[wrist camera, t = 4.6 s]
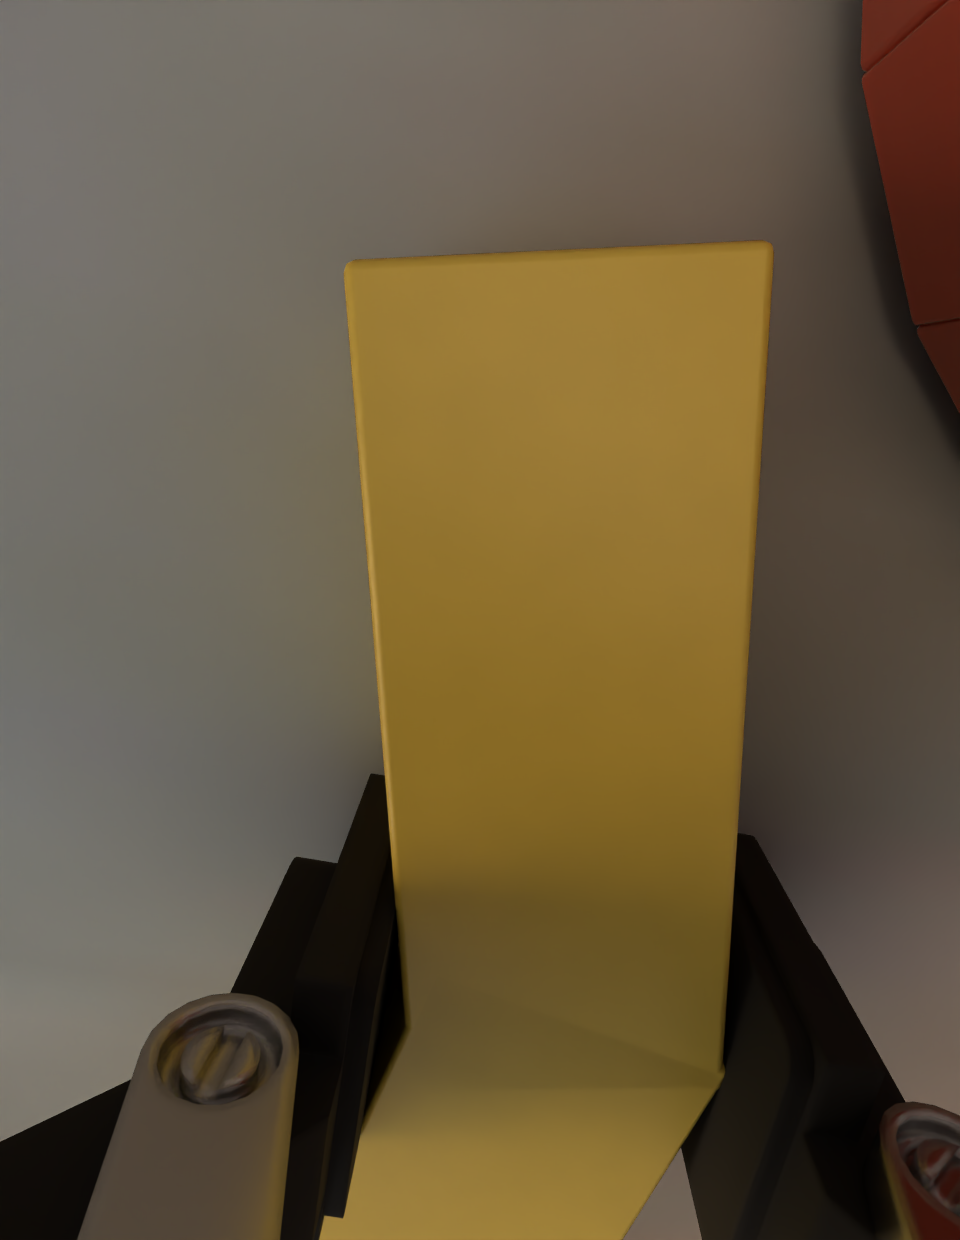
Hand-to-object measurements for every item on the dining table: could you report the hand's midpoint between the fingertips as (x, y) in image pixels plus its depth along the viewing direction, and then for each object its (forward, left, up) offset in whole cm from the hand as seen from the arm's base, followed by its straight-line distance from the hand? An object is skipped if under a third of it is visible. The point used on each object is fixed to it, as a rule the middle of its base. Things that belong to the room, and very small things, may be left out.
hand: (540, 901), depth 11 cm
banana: (-1, 0, -1) cm, 1 cm away
